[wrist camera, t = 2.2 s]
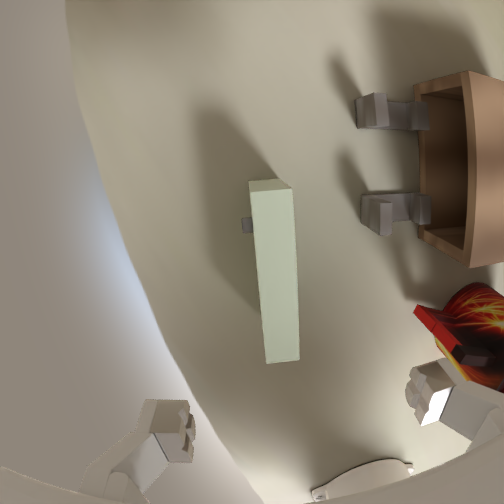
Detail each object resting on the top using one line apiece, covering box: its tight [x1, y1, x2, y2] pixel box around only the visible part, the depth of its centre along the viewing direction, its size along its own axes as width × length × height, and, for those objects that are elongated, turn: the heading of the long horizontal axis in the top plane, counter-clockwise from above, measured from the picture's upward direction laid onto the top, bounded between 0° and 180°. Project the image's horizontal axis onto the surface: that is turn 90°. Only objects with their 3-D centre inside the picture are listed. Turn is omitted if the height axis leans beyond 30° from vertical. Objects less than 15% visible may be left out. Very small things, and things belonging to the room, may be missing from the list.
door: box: [242, 178, 300, 364], centre depth 23 cm, size 12×3×7 cm, turn 5°
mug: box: [413, 282, 504, 394], centre depth 24 cm, size 10×14×12 cm
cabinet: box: [355, 70, 504, 268], centre depth 20 cm, size 14×18×8 cm
